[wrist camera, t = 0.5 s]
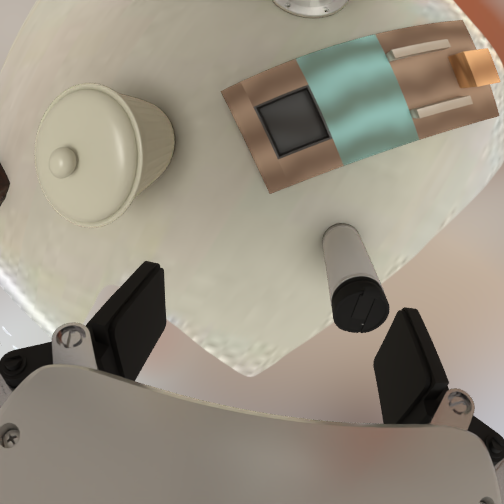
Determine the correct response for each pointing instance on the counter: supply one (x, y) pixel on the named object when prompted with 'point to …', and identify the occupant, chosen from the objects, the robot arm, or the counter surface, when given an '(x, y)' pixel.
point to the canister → (99, 152)
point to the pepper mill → (3, 184)
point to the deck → (355, 101)
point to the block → (474, 68)
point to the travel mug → (352, 281)
